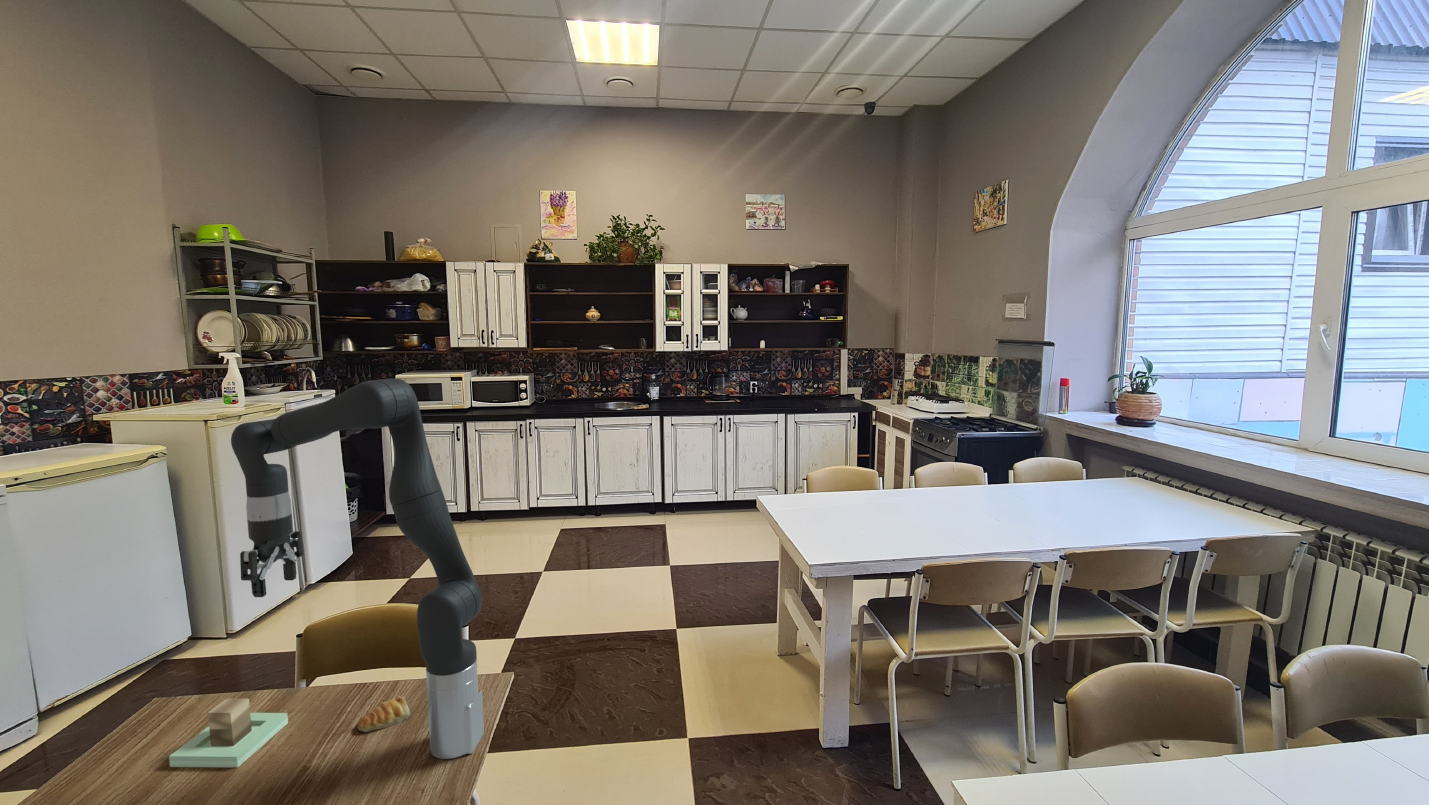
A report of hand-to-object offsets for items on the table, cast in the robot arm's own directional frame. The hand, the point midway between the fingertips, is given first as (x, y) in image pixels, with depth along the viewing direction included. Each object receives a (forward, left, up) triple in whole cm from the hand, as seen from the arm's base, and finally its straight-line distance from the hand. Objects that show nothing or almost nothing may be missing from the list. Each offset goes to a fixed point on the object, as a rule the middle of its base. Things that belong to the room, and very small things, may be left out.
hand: (275, 587), depth 124 cm
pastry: (-24, +3, -29) cm, 37 cm away
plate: (+3, +10, -28) cm, 30 cm away
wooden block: (+3, +10, -27) cm, 29 cm away
